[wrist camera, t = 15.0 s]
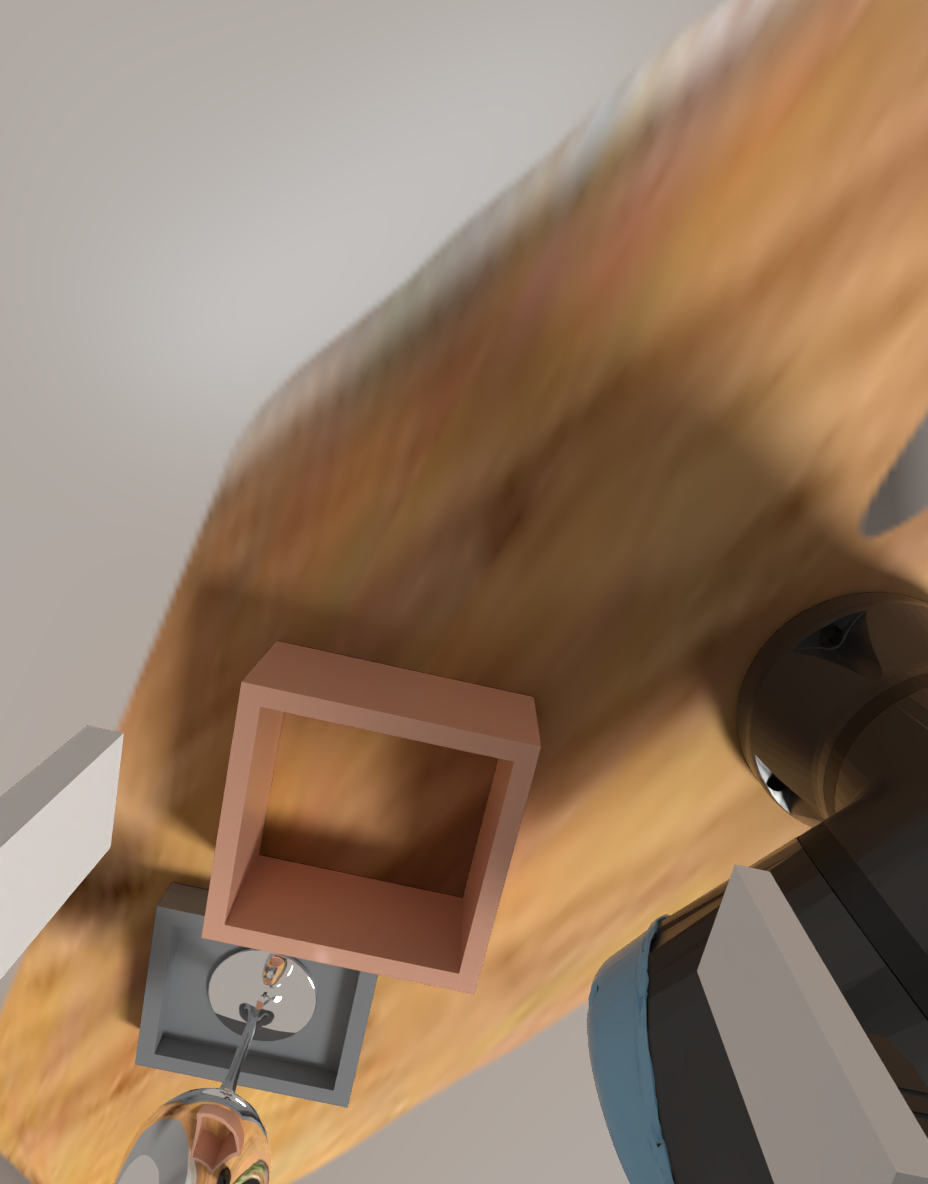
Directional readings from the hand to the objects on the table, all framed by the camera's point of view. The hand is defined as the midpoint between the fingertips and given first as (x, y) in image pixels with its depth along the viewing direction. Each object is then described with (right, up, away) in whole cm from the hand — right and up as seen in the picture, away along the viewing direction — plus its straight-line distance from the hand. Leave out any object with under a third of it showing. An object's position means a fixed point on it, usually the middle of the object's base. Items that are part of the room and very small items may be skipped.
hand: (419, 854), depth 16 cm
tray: (-13, -22, +38) cm, 46 cm away
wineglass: (-13, -22, +37) cm, 45 cm away
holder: (-5, -7, +34) cm, 35 cm away
